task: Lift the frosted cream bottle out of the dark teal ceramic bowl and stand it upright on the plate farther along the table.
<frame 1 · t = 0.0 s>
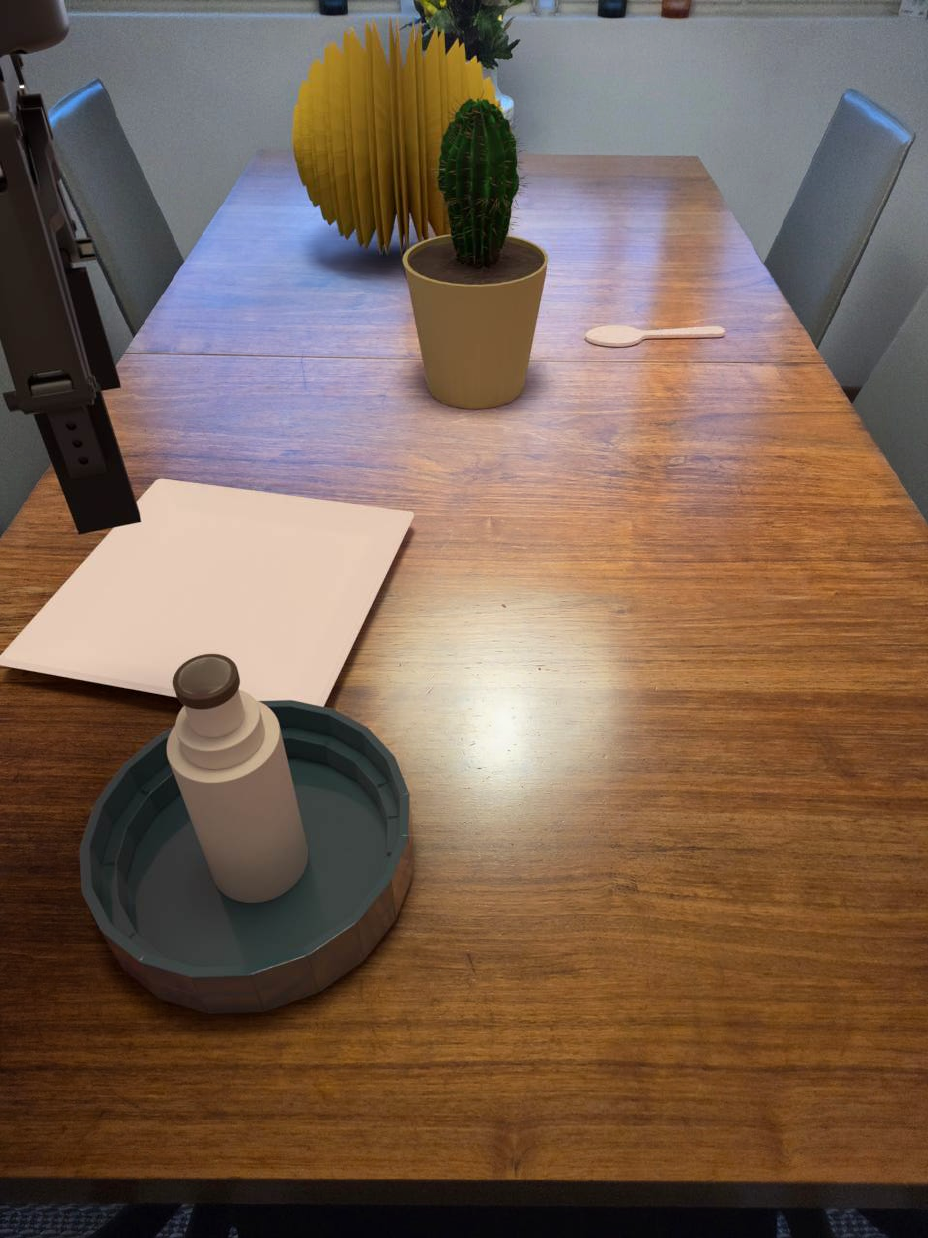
hand: (102, 449, 44), 26 cm above the table, tool pointing down, fingers open, 13 cm apart
bowl: (262, 865, 56), on the table
plate: (229, 598, 75), on the table
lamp: (405, 253, 134), on the table
bottle: (260, 860, 55), point 1 cm above the table, touching bowl
potted cactus: (475, 386, 103), on the table
spoon: (654, 336, 112), on the table
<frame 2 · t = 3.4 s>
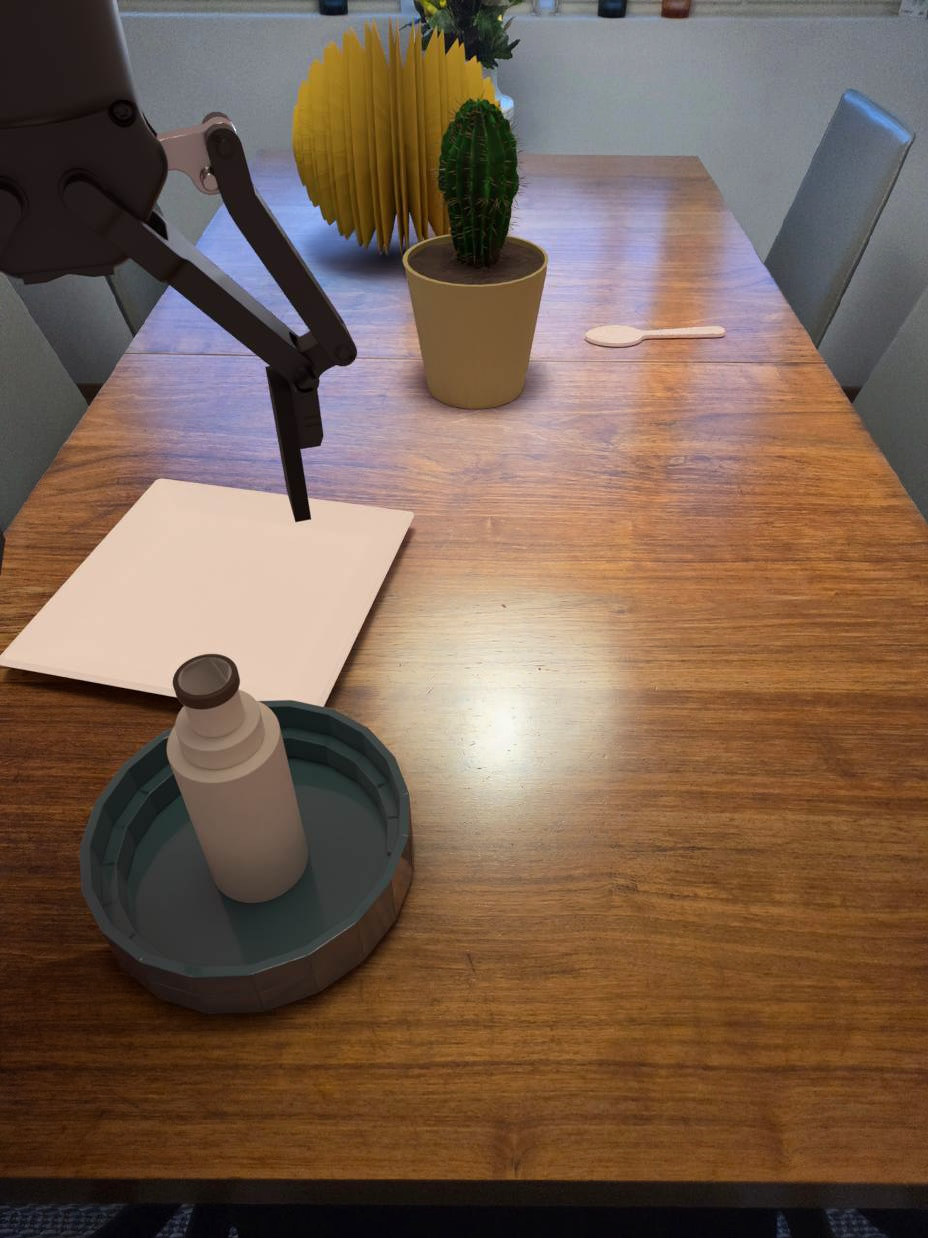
hand: (152, 531, 40), 25 cm above the table, tool pointing down, fingers open, 13 cm apart
nothing on the table moved.
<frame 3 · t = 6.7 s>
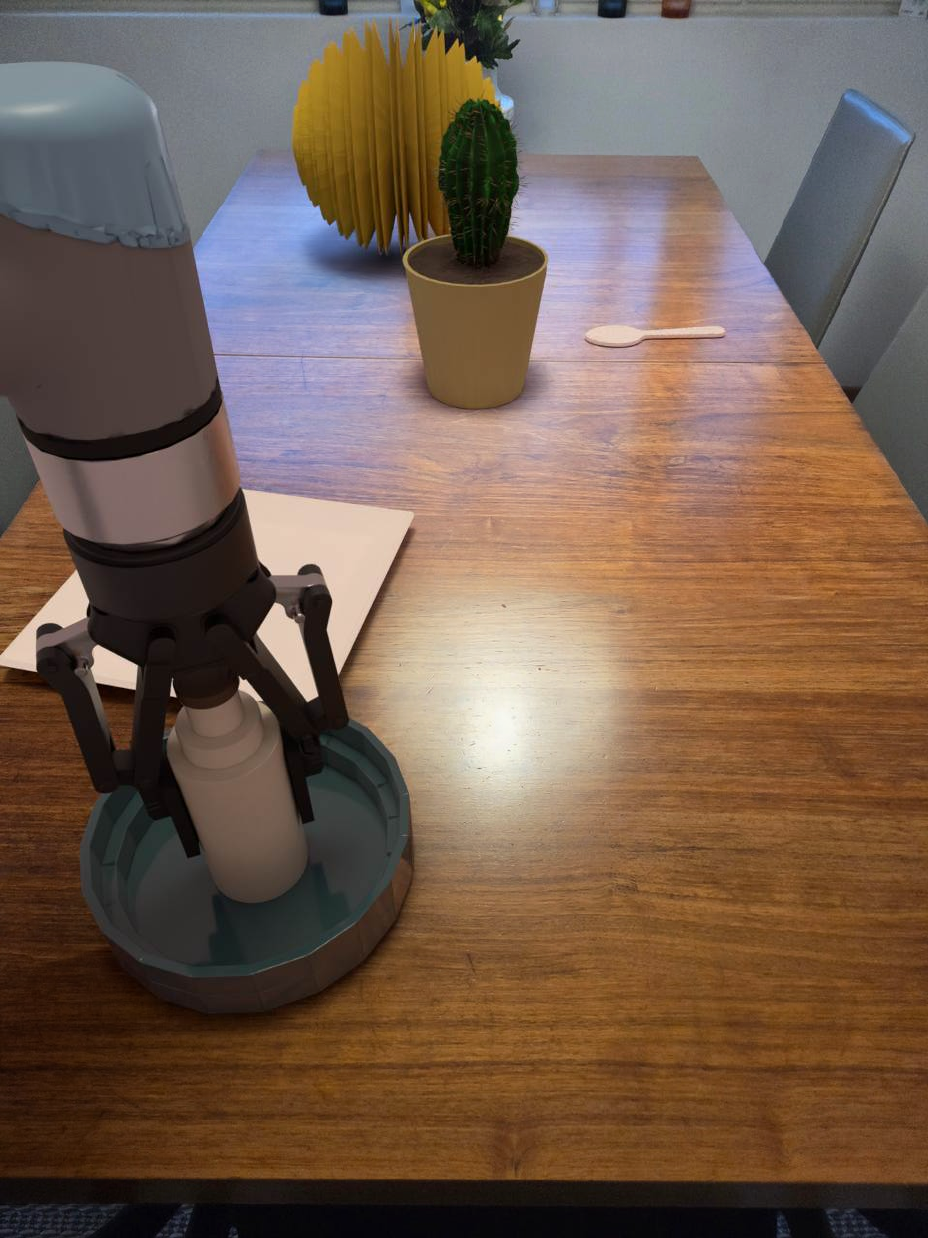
hand: (248, 820, 52), 5 cm above the table, tool pointing down, fingers closed on bottle, 6 cm apart
bottle: (260, 860, 55), point 1 cm above the table, touching bowl, gripper
everything else where it was.
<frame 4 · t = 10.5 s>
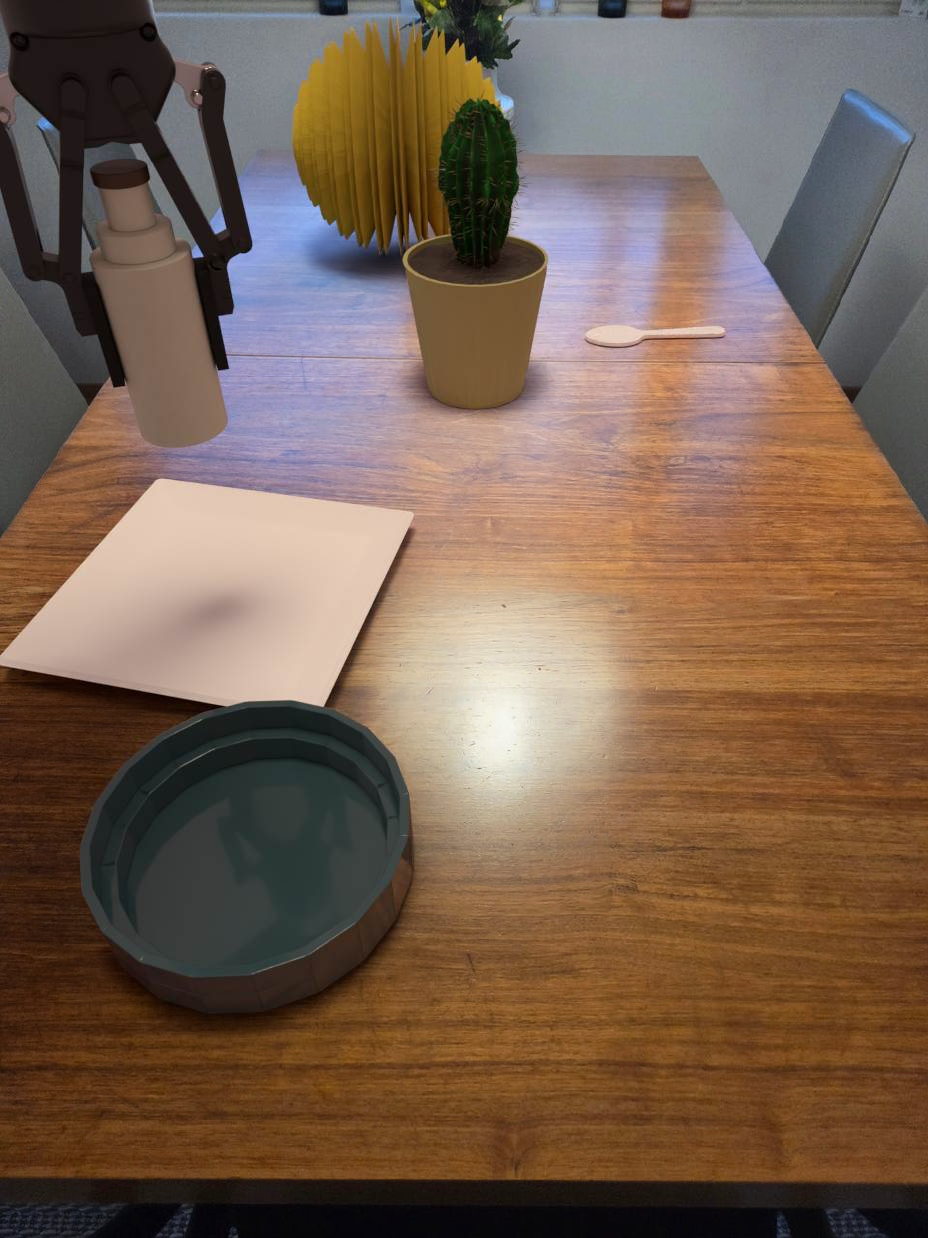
hand: (170, 368, 59), 22 cm above the table, tool pointing down, fingers closed on bottle, 6 cm apart
bottle: (184, 425, 62), point 18 cm above the table, touching gripper
everything else where it was.
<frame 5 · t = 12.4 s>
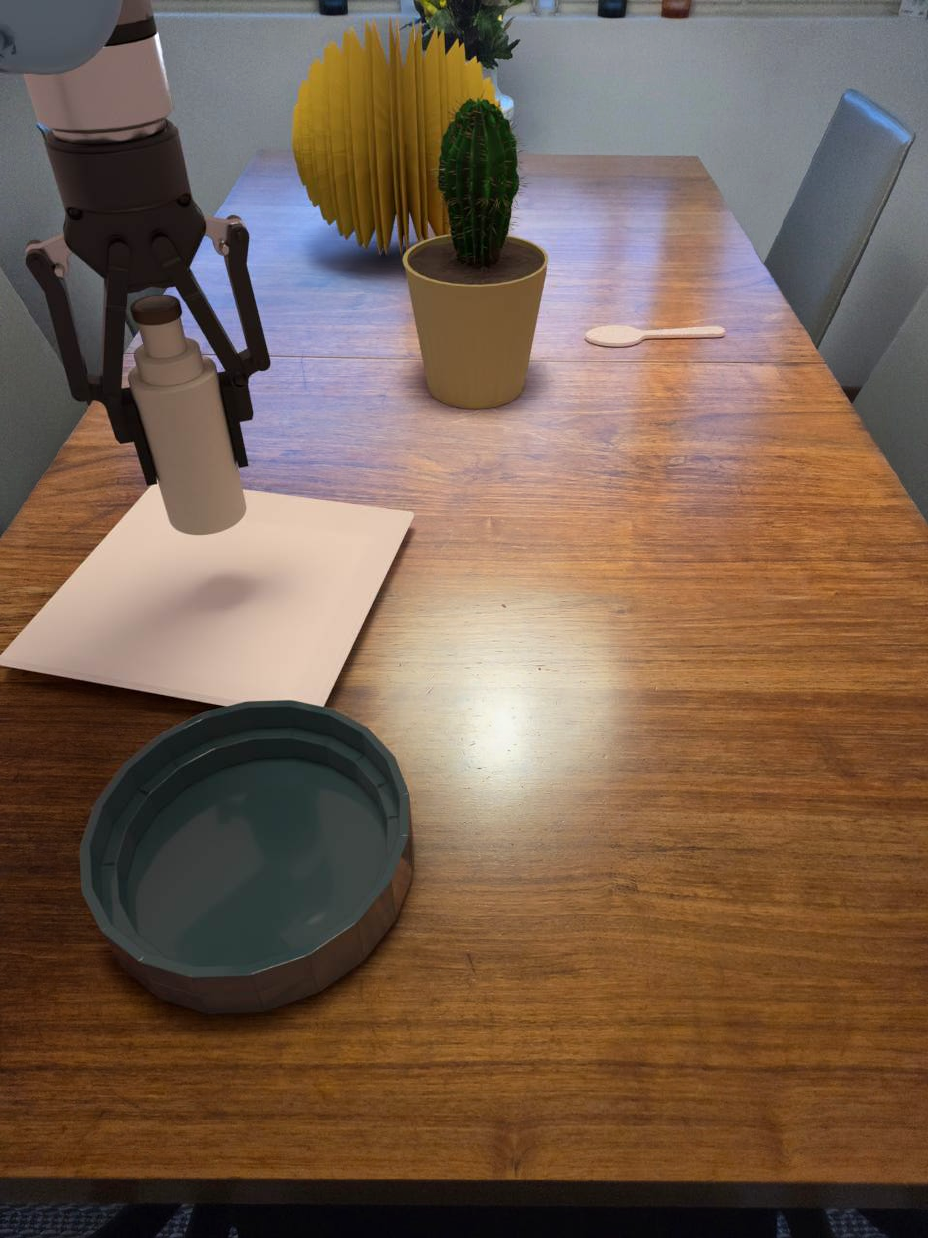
hand: (196, 466, 66), 13 cm above the table, tool pointing down, fingers closed on bottle, 6 cm apart
bottle: (208, 512, 69), point 9 cm above the table, touching gripper
everything else where it was.
when the fingers open (6 cm above the table, at t = 14.3 s): bottle stays where it is, resting on plate.
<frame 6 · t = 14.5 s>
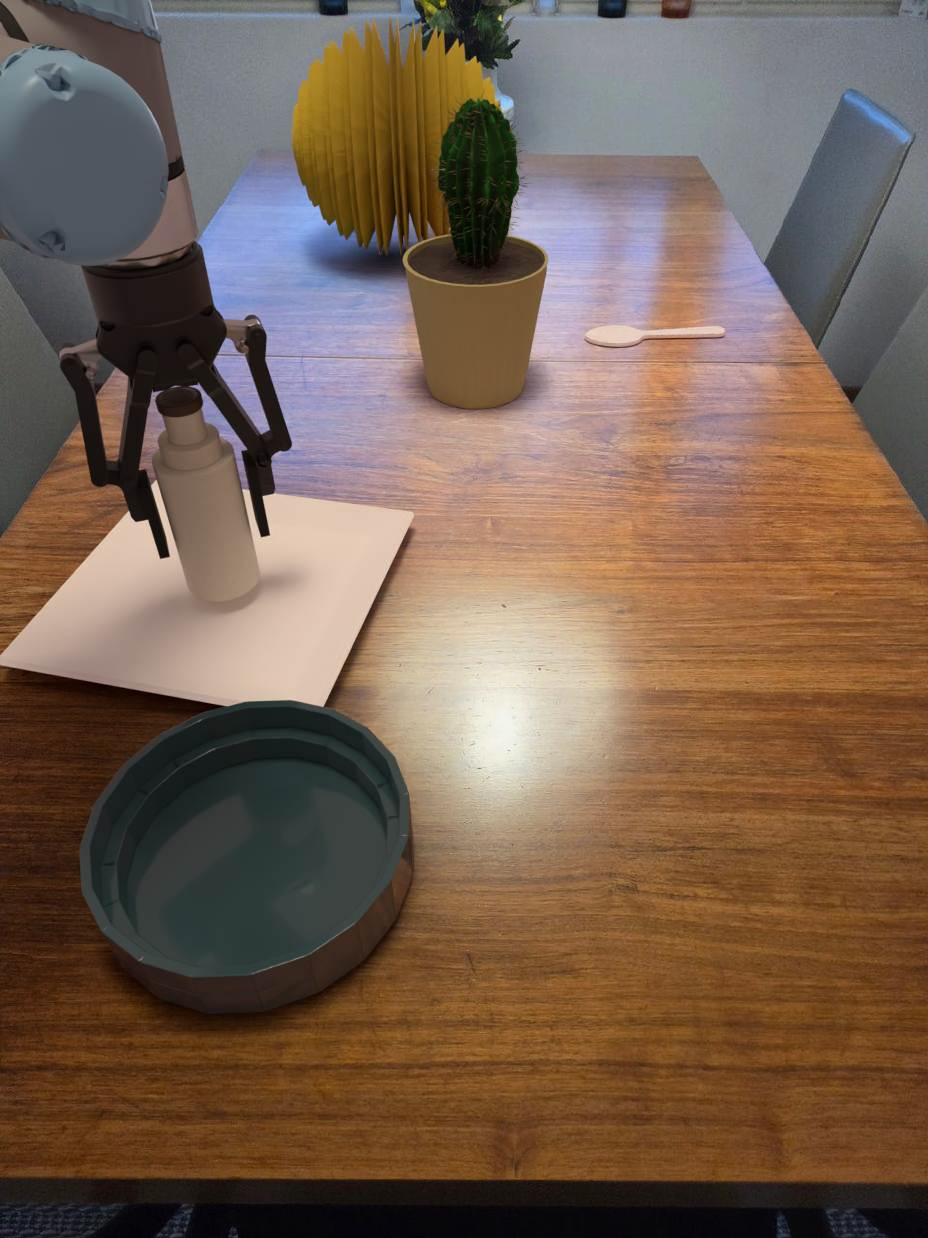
hand: (213, 537, 71), 6 cm above the table, tool pointing down, fingers open, 7 cm apart
plate: (229, 598, 75), on the table, touching bottle
bottle: (224, 578, 73), point 2 cm above the table, touching plate
everything else where it was.
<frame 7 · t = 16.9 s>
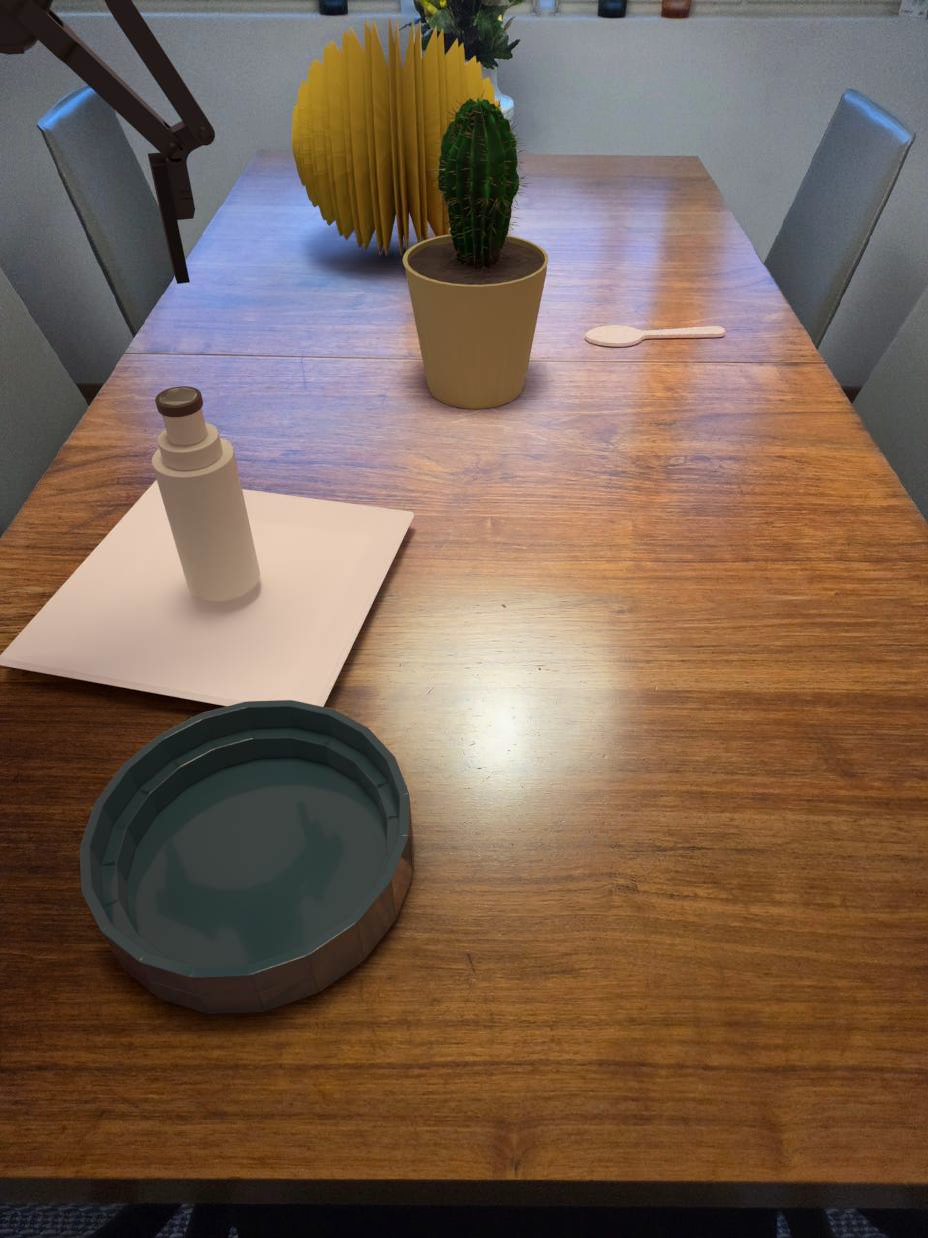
hand: (63, 290, 52), 29 cm above the table, tool pointing down, fingers open, 13 cm apart
nothing on the table moved.
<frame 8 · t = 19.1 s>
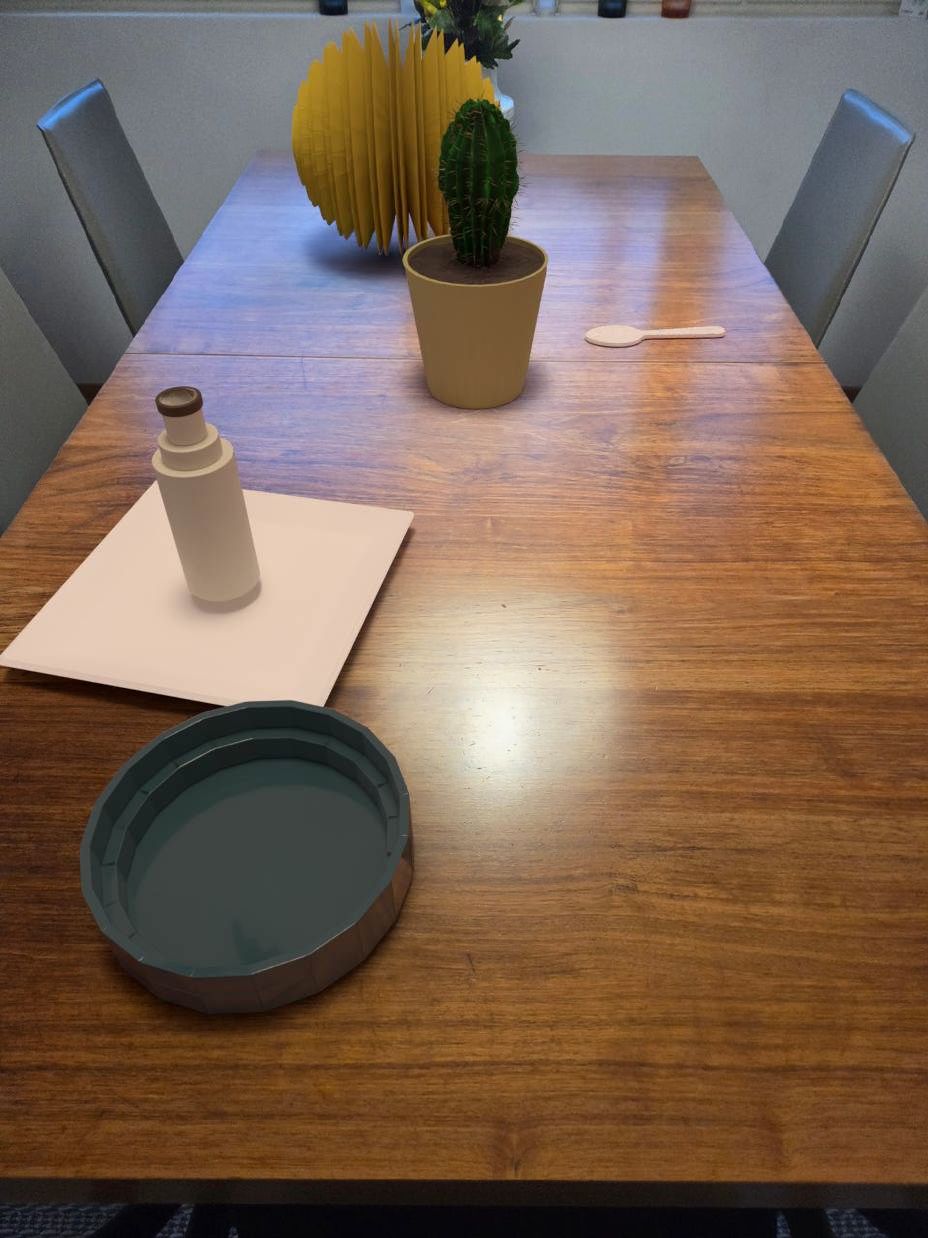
nothing on the table moved.
at the end: bottle inside the target area on the plate (0.0 cm from its centre), point 2.3 cm above the plate's base; bottle tilted 0°; the gripper is holding nothing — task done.
